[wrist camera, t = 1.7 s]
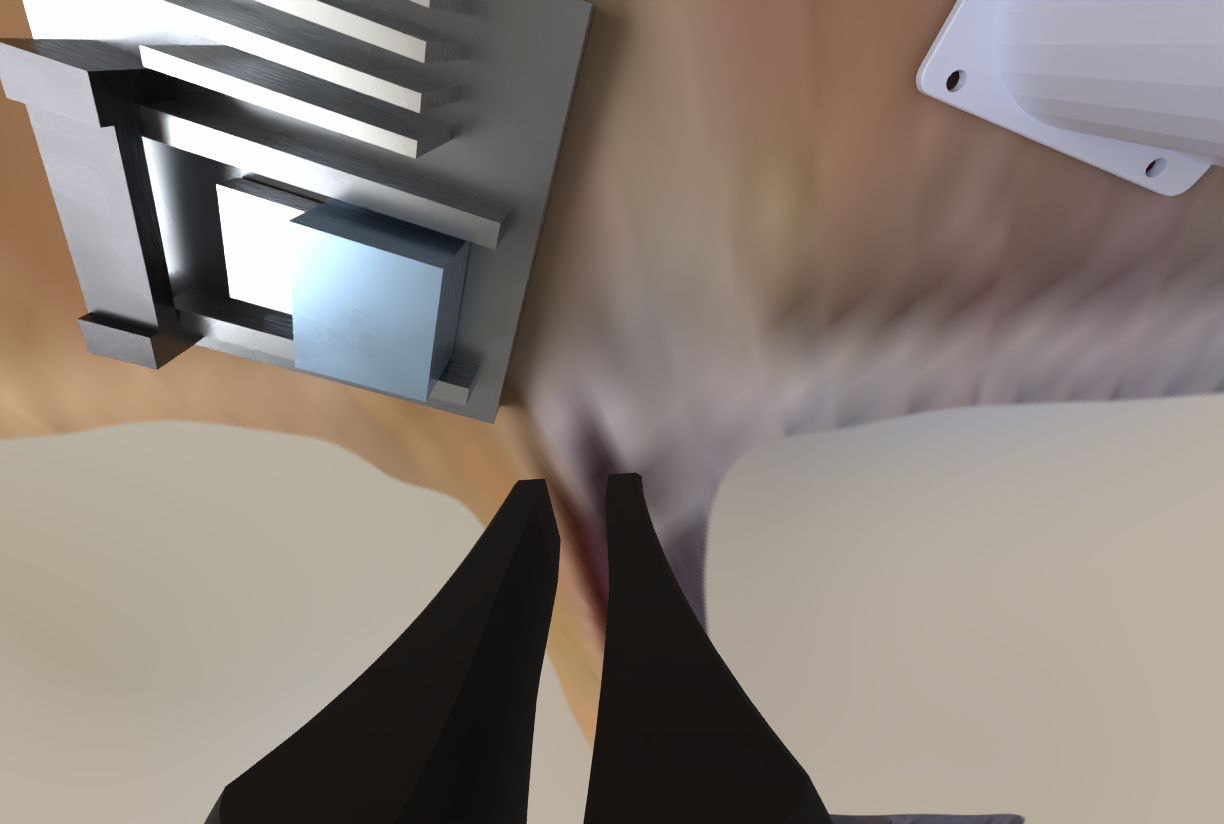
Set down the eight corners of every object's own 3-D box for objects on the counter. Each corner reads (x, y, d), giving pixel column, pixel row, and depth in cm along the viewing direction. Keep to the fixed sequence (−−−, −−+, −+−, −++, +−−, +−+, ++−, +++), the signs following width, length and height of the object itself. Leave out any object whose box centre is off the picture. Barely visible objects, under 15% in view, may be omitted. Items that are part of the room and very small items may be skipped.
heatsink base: (594, 6, 14) (583, -6, 10) (499, 406, 22) (475, 474, 18) (7, -234, 12) (-251, -349, 8) (138, 308, 20) (33, 364, 16)
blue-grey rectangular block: (471, 235, 16) (443, 268, 14) (452, 355, 19) (425, 402, 16) (236, 159, 15) (160, 181, 13) (250, 298, 18) (189, 338, 15)
